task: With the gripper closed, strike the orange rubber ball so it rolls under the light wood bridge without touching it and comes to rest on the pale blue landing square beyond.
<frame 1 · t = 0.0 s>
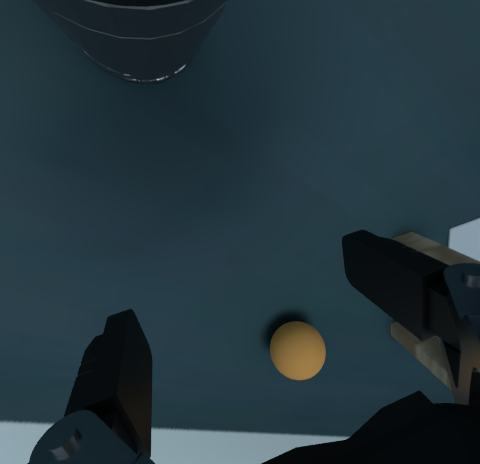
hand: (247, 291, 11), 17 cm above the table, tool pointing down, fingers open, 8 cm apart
ball: (297, 349, 33), on the table
bridge: (400, 287, 38), on the table
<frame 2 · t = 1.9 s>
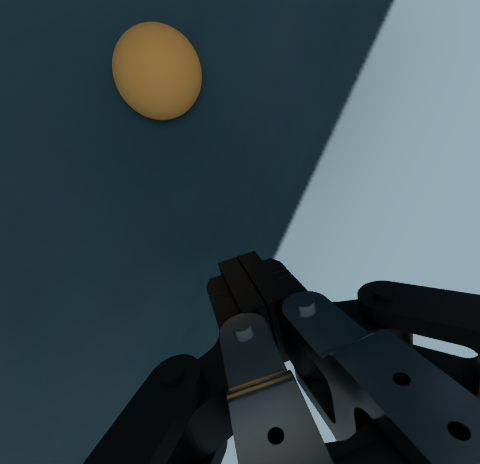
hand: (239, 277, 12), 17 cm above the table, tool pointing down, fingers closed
ball: (158, 74, 21), on the table
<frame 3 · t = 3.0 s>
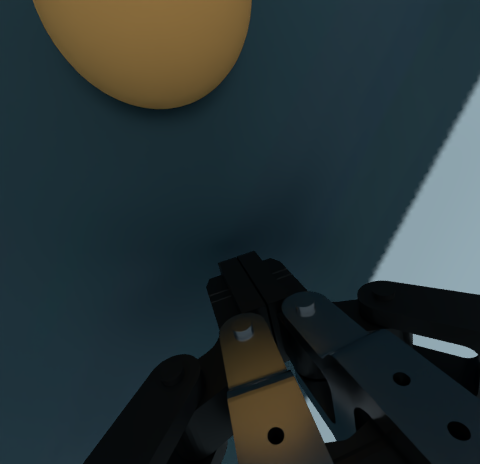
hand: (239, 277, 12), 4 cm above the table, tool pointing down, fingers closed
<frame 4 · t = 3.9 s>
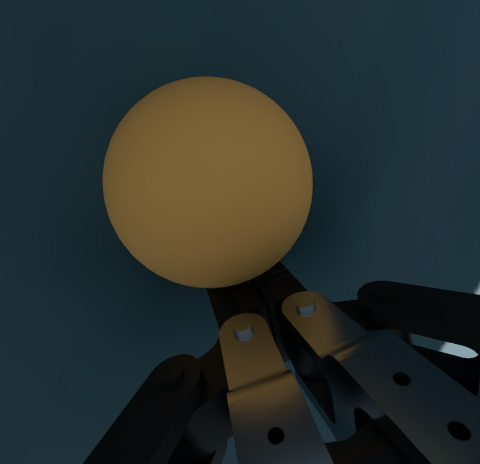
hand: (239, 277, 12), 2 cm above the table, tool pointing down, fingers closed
ball: (211, 187, 9), on the table
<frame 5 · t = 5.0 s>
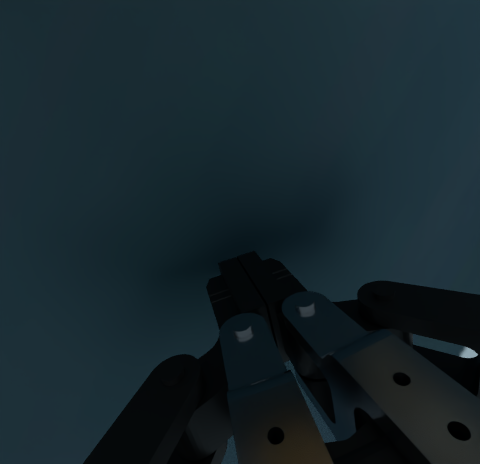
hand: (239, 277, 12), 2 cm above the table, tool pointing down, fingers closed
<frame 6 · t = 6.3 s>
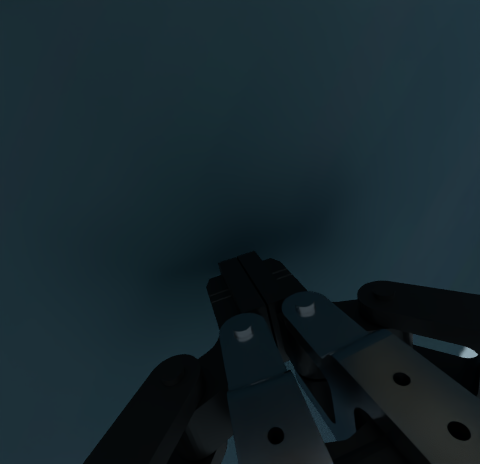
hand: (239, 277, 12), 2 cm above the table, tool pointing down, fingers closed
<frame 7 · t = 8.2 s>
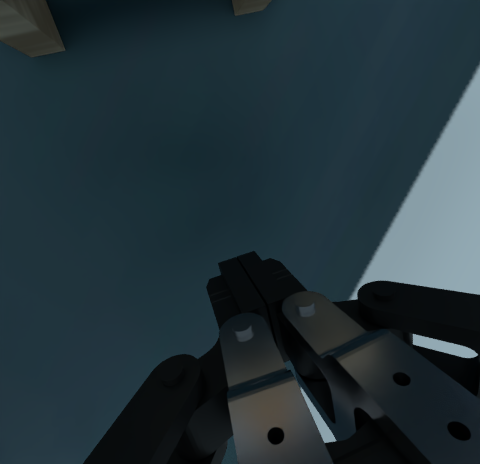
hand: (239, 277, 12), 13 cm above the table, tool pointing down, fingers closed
bridge: (145, 4, 18), on the table
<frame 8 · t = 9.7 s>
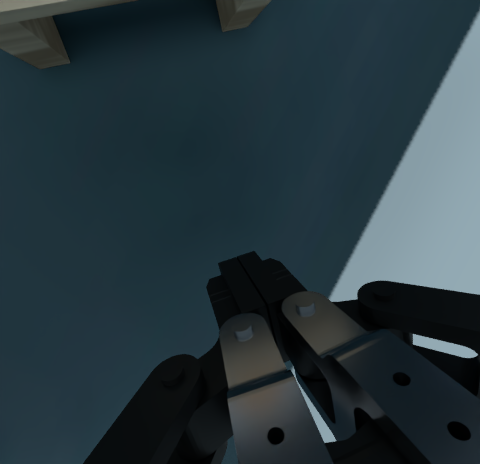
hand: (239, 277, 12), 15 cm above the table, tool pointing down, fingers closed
bridge: (142, 22, 21), on the table
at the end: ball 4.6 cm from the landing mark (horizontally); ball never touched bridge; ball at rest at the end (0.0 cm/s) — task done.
